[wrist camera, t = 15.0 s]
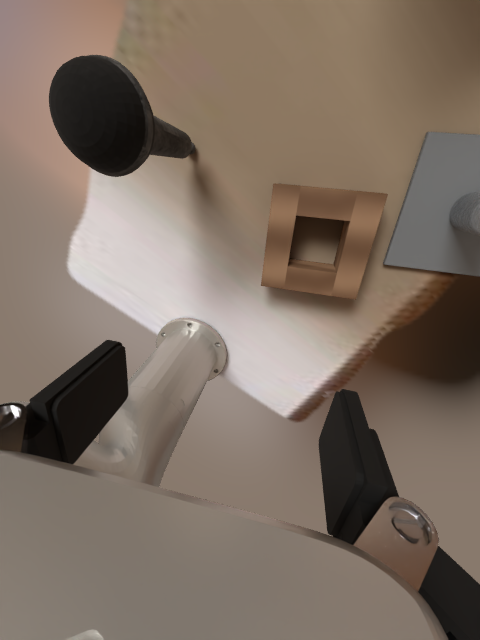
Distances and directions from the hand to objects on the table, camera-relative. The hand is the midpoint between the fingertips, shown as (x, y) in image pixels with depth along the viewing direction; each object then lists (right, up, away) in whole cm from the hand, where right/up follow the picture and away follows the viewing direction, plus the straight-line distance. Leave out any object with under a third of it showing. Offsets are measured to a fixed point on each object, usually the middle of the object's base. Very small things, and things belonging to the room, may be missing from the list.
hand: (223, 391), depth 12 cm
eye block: (+11, +14, +23) cm, 29 cm away
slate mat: (+27, +15, +19) cm, 36 cm away
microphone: (-5, +24, +22) cm, 33 cm away
